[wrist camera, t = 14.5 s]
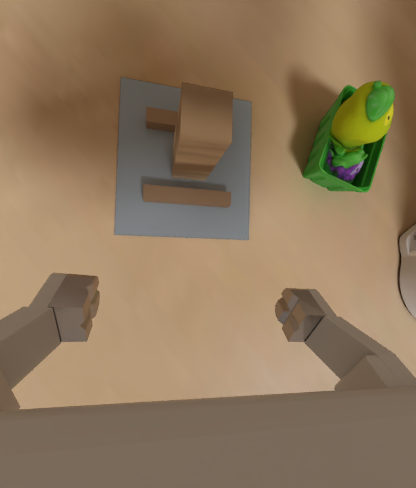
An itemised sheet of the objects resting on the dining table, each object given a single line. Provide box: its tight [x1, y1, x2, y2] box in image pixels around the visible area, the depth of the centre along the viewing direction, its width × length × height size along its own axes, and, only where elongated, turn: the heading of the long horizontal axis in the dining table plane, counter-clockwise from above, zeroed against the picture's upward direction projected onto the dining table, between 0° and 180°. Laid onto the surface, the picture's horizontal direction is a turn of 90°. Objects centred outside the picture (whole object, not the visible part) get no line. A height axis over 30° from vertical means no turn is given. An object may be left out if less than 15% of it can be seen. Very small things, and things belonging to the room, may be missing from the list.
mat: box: [114, 77, 251, 240], centre depth 26 cm, size 18×16×2 cm
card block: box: [172, 82, 233, 181], centre depth 22 cm, size 4×4×10 cm
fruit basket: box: [303, 81, 395, 192], centre depth 26 cm, size 11×9×11 cm
